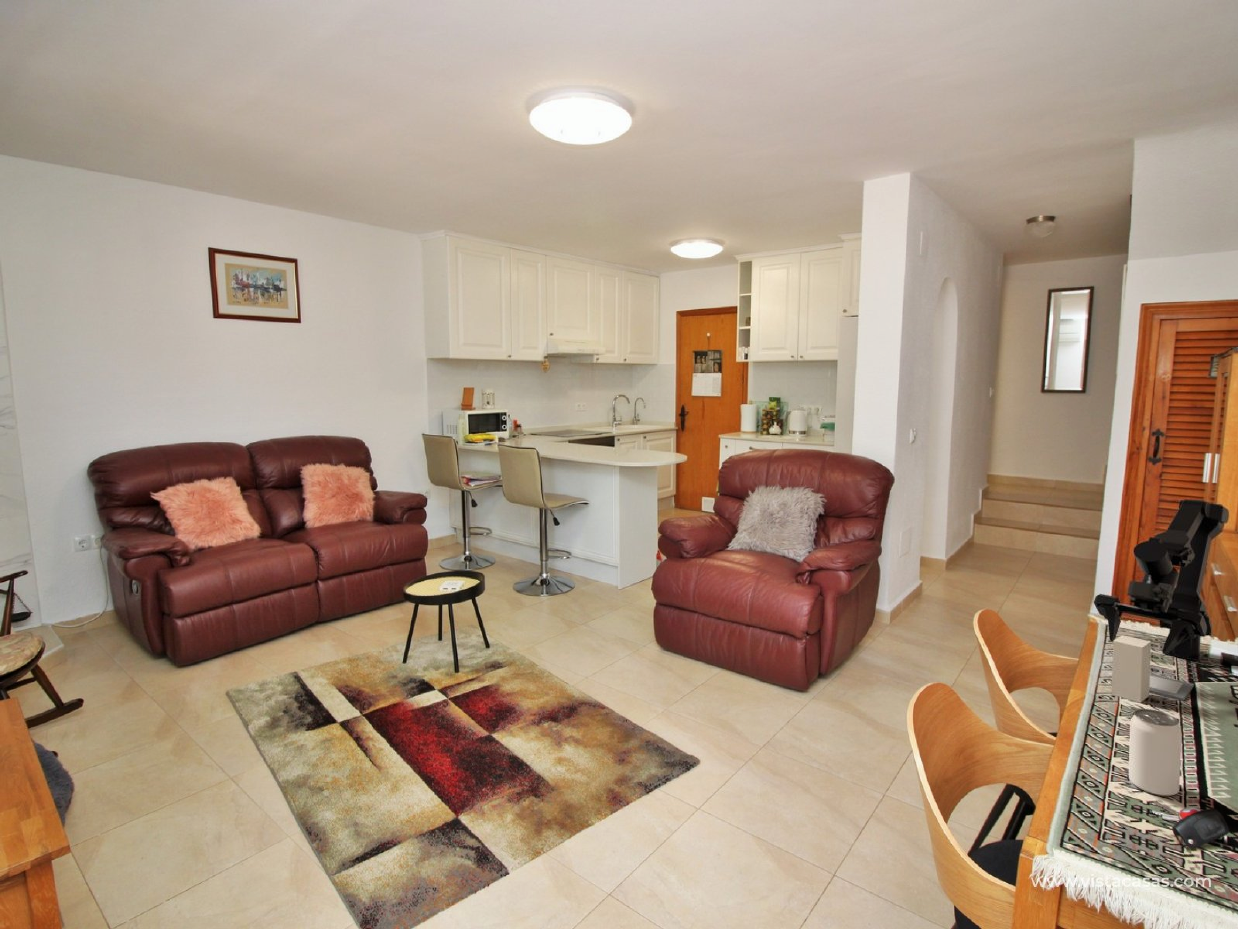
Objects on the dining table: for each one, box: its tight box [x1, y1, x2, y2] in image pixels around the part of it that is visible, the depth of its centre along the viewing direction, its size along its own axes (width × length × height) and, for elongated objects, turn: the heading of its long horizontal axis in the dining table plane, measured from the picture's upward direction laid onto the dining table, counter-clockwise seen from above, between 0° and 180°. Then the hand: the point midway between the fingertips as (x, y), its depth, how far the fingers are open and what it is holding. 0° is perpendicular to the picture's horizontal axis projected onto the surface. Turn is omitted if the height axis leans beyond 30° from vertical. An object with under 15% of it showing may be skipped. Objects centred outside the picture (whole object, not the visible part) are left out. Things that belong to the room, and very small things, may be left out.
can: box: [1128, 708, 1182, 797], centre depth 105 cm, size 6×6×12 cm
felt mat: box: [1149, 673, 1195, 702], centre depth 140 cm, size 10×10×1 cm
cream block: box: [1111, 634, 1152, 704], centre depth 136 cm, size 5×5×12 cm
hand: (1136, 646), depth 137 cm, fingers open, 9 cm apart
